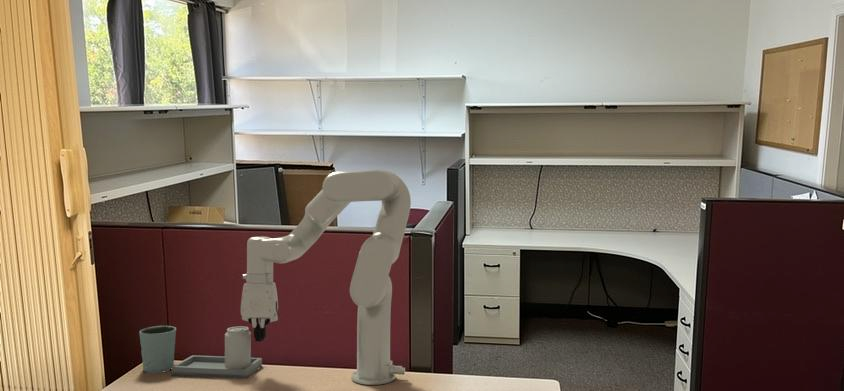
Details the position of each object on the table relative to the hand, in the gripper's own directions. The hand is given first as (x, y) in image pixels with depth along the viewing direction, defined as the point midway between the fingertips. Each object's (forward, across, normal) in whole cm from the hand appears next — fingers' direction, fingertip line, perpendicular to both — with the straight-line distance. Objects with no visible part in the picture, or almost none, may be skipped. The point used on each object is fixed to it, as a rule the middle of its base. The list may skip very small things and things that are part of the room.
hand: (259, 340), depth 183 cm
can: (+9, -7, 0) cm, 11 cm away
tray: (+10, -13, 0) cm, 16 cm away
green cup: (+10, -31, -1) cm, 33 cm away
